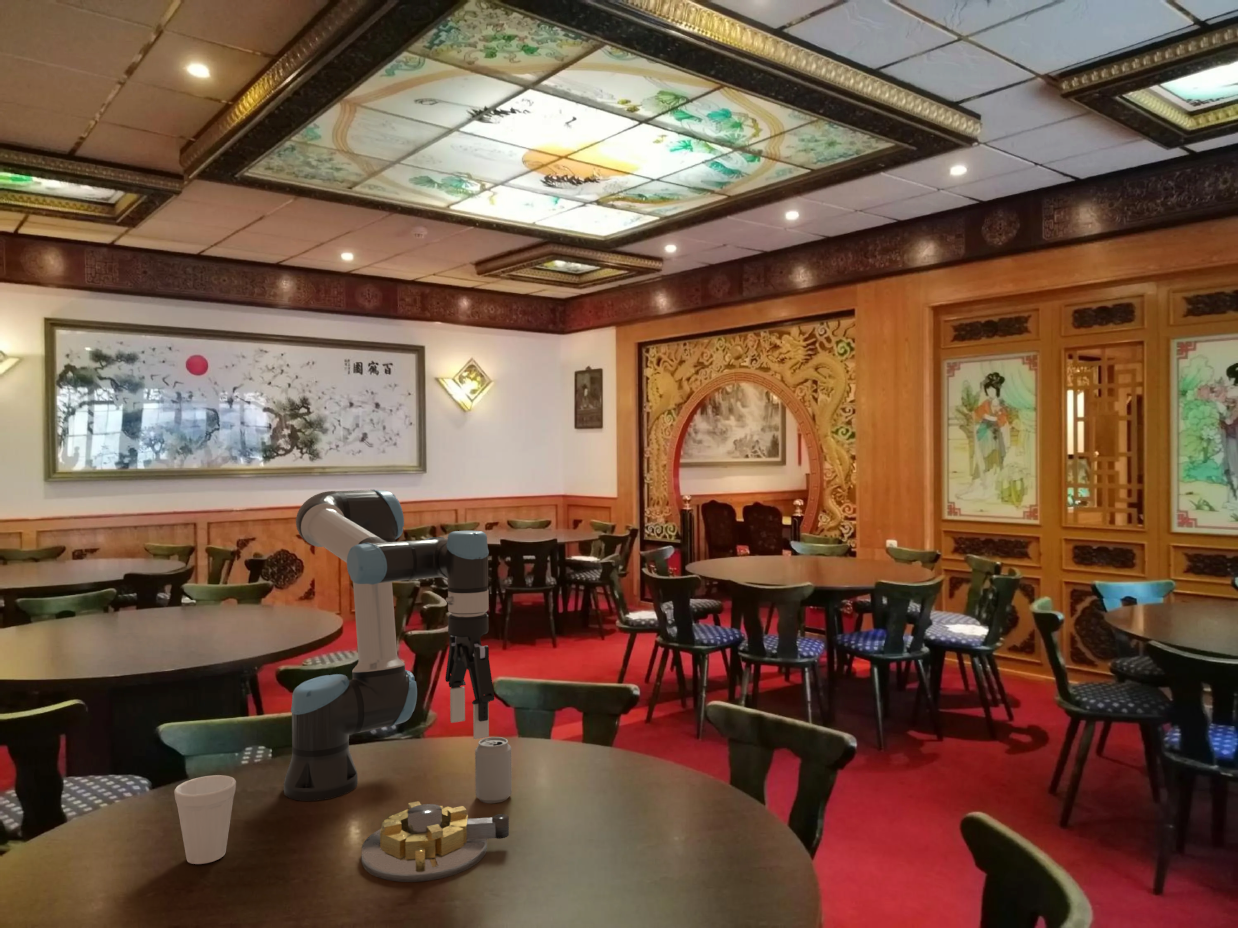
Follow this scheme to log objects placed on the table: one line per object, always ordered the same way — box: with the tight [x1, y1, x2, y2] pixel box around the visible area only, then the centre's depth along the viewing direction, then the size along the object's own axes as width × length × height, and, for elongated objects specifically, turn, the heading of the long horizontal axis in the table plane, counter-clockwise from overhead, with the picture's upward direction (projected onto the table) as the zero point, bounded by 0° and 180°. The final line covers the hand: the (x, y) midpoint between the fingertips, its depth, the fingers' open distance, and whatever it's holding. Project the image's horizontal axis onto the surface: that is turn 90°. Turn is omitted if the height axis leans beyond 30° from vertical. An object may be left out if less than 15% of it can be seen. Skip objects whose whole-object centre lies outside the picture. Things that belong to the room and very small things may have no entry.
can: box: [474, 736, 513, 804], centre depth 180 cm, size 8×8×12 cm
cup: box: [173, 774, 237, 865], centre depth 153 cm, size 10×10×13 cm
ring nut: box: [379, 800, 510, 859], centre depth 155 cm, size 22×15×4 cm, turn 97°
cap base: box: [361, 803, 488, 883], centre depth 155 cm, size 22×22×8 cm
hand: (469, 729), depth 162 cm, fingers open, 11 cm apart
